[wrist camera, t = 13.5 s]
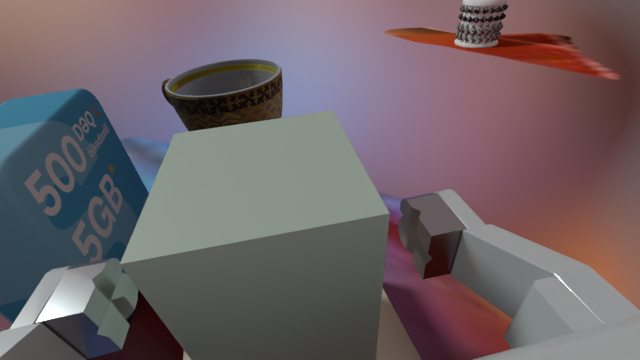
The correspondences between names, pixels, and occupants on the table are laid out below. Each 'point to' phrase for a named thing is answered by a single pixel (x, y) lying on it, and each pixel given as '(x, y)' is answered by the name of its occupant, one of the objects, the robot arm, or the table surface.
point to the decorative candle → (480, 23)
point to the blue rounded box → (60, 191)
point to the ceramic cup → (226, 93)
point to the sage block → (264, 243)
